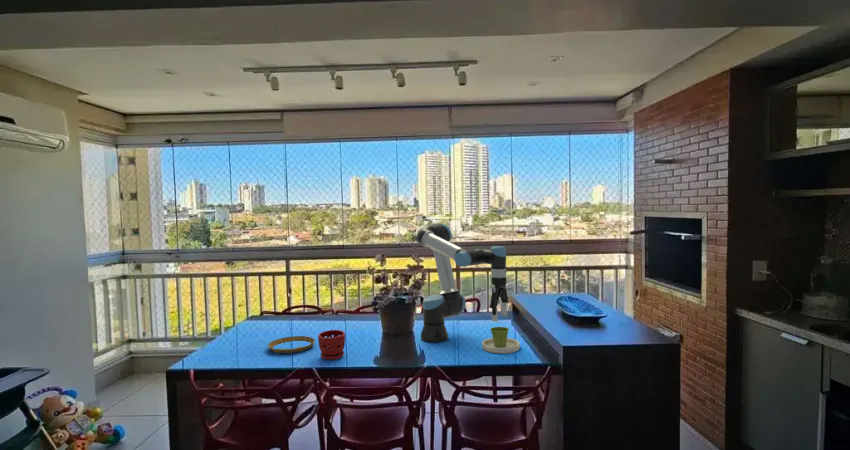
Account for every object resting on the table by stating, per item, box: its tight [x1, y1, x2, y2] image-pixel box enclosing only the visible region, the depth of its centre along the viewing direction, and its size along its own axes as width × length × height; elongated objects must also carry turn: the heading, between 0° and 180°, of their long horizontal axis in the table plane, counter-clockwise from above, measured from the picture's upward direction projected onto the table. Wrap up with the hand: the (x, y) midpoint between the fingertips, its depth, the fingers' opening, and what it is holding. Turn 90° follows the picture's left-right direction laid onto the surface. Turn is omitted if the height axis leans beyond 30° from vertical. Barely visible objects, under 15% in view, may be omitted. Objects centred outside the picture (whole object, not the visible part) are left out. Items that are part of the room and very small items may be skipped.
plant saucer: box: [267, 335, 316, 354], centre depth 238 cm, size 24×24×3 cm
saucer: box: [481, 337, 521, 355], centre depth 226 cm, size 19×19×2 cm
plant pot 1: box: [317, 329, 346, 361], centre depth 220 cm, size 13×13×12 cm
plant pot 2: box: [489, 326, 510, 348], centre depth 226 cm, size 9×9×9 cm
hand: (499, 318), depth 226 cm, fingers open, 13 cm apart
